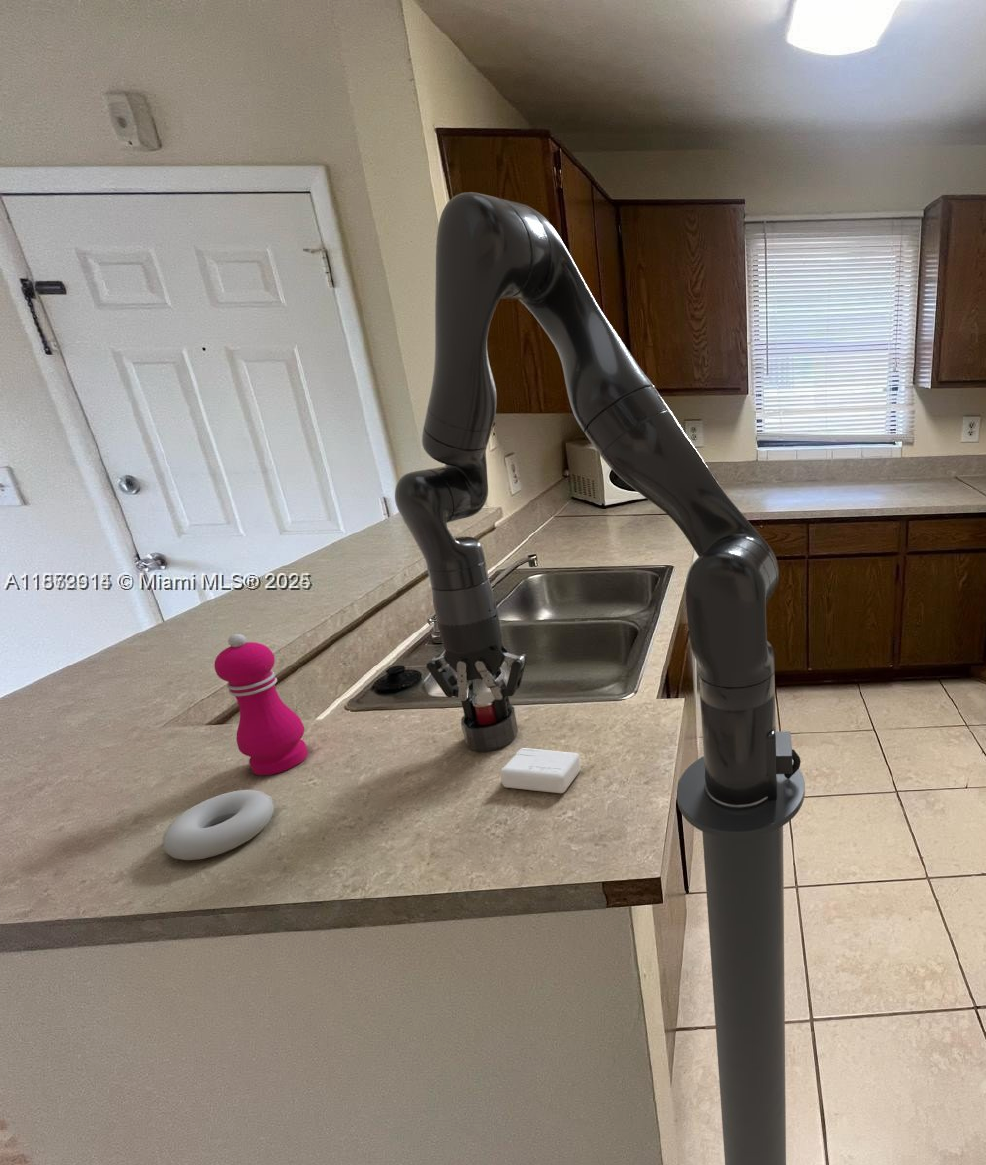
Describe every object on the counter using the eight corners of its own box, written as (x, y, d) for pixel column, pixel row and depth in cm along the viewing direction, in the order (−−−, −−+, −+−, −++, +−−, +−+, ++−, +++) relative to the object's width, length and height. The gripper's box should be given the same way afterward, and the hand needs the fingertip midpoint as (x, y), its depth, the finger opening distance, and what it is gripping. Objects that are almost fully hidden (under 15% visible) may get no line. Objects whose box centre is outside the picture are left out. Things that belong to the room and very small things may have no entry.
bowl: (525, 723, 93) (521, 701, 91) (507, 752, 86) (502, 728, 85) (479, 724, 93) (474, 702, 91) (457, 753, 86) (451, 729, 84)
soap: (583, 769, 82) (580, 751, 81) (564, 796, 77) (560, 777, 76) (524, 763, 83) (520, 745, 82) (500, 789, 78) (497, 770, 77)
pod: (506, 712, 90) (502, 691, 89) (496, 725, 86) (492, 704, 85) (482, 712, 90) (478, 692, 89) (471, 726, 86) (466, 705, 85)
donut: (147, 855, 68) (203, 876, 65) (136, 832, 67) (192, 851, 64) (244, 799, 77) (297, 815, 74) (235, 777, 76) (289, 792, 73)
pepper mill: (322, 743, 88) (282, 621, 81) (294, 774, 82) (247, 644, 75) (268, 749, 87) (222, 625, 80) (235, 781, 80) (182, 649, 74)
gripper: (400, 624, 79) (428, 734, 84) (507, 622, 79) (527, 732, 85) (430, 603, 86) (454, 706, 92) (528, 601, 86) (545, 704, 92)
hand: (489, 718), depth 88 cm, fingers closed on pod, 3 cm apart
